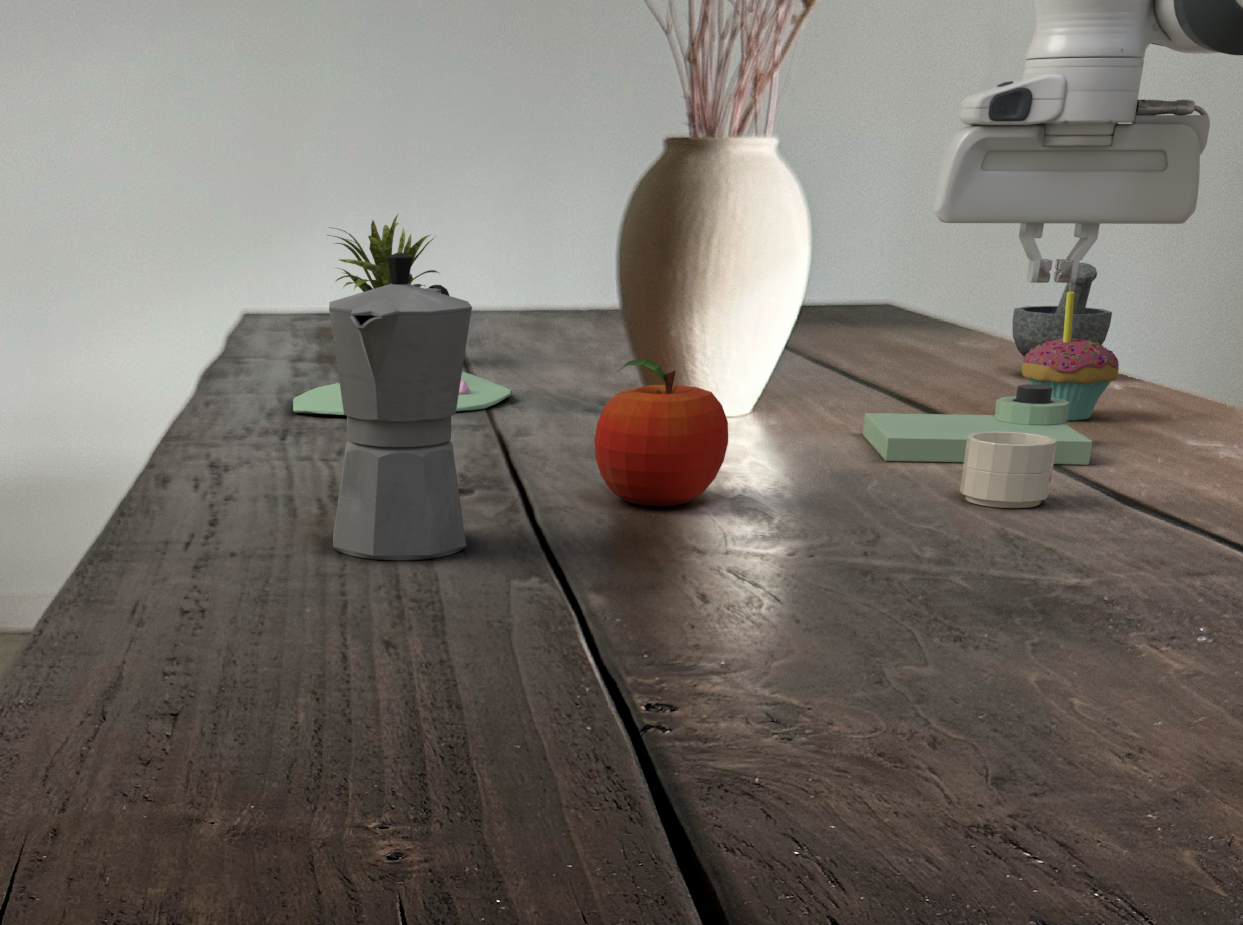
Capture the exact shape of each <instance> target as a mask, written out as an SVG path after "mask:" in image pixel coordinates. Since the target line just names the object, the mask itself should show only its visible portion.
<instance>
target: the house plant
mask: <svg viewBox="0 0 1243 925" xmlns="http://www.w3.org/2000/svg"><path fill="white" fill-rule="evenodd" d="M398 216H399V214H397V215H396V216H395V217H394V218H393V220H392V223H391V226H390V227H389V225H387V224H385V225H383V228H382V233H381V234H382V236H380V234H379V231H378V228H377V225H376V223H375V220H373V219H371V220H372V221H371V223H370V235H368V237H367V238H368V240H369V249H368V250H369V251H370V254H371V256H372V259H373V261H374V263H372V262H371V261H370V259H369V258H368V256H367V254H366V253H365V252H366V251H364V249H363V247H362V246H361V244H360V243H359V242H358V240H357V239H356V238H355V236H353V235H352V234H351V233H350V232H347V231H346V230H343V229H341V228H337V227H333V229H334V230H338V231H341V232H344V233H345V234H347V235H348V236H350V237H351V238H352V239H347V238H344V237H341V236H336V235H331V234H327V236H328V237H333V238H338V239H341V240H342V241H344V242H345V243H344V242H343V243H342V242H334V245H335V244H336V245H342V246H344V247H345V248H347V249H348V250H349V251H350V252H351V253H352V254H353V255H354V257H355V258H356V259H351V258H350V259H349V258H348V259H347V258H346V259H343V258H341V259H339V261H340V262H343V263H346V264H352V265H355V266H358V267H360V268H362V270H363V271H364V273H365V275H366V277H367V278H368V279H366V278H365V279H364V278H361V277H360V276H358V275H354V274H351V273H350V272H349V271H347V270H346V269H343V268H340V267H337V269H338V270H341V271H343V273H344V274H346V275H342V276H340V277H337V279H336V280H335V281H334V283H335V282H338V281H339V280H342V279H344V278H350V279H351V280H352V281H347V282H345V284H344V285H343V287H342V289H345V287H347V286H350V285H353V284H354V287H353V291H355V290H356V288H359V289H360V290H361V291H362V292H365V291H369V290H372V289H375V288H379V287H382V286H386V285H389V284H392V283H391V277H390V271H389V265H388V259H387V256H390V255H393V243H394V237H395V236H394V234H395V232H396V230H395V229H396V227H397V226H398V225H399V224H400V222H397V219H398ZM327 228H328V229H332V227H330V226H329V227H328V226H327ZM430 236H431V234H428V235H425V236H423V237H421V238H420V239H419V240H418V241H417V242H415V243H414V244H413V245H412V238H413V237H412V233H410V234H409V236H408V239H407V242H406V231H405V228H404V227H402V230H401V234H400V237H399V242H398V247H397V251H396V253H405V254H407V255H410V256H412V257H413V258H412V264H411V267H413V264H414V263H415V262H416V260H417V259H418V258H419V257H420V255H421V254H422V253H423V252H424V250H425V249H426V247H427V246H428V245H429V244H430V243H431V242H433V240H434V239H435V238H436V236H434V237H433V238H432V239H430V240H429V241H428V242H426V244H425V245H424V246H423V248H422V249H421V250H420V251H419V249H420V248H421V246H422V244H423V243H424V241H425V240H426V239H427V238H428V237H430ZM352 242H353V243H352ZM354 243H355V244H356V245H355V244H354ZM418 251H419V252H418ZM332 268H334V269H335V267H332ZM369 271H370V272H371V274H372V276H373V277H374V279H373V278H372V276H371V274H370V272H369ZM428 273H439V275H441V276H442V274H441V273H440V272H439V271H437V270H436V269H435V270H434V269H430V270H426V271H424V272H422V273H420V274H418V275H416V276H415V277H414V276H413V274H412V273H410V275H409V281H408V284H411V285H412V283H413V281H414V280H416V279H418V278H419V277H421V276H422V275H425V274H428ZM367 282H370V284H371V285H370V284H368V283H367ZM413 285H414V286H417V287H421V288H422V286H423V287H424V289H425V288H427V287H426V284H421V283H414V284H413Z"/></svg>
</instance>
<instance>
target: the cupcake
mask: <svg viewBox="0 0 1243 925" xmlns="http://www.w3.org/2000/svg"><path fill="white" fill-rule="evenodd" d="M1073 306H1074V292H1072V283H1070V287H1069V292H1067V297H1066V310H1065V323H1064V336H1063V339H1057V340H1054V341H1051V340H1048V341H1047V342H1046V343H1043V344H1040V345H1038V346H1036V347H1034V348H1032V349H1031V350H1030V352H1029V353H1027V354H1026V356H1025V357H1023V358H1022V363H1023V364H1022V367H1021V375H1022V374H1023V375H1022V376H1023V377H1025V379H1027V380H1028V384H1035V385H1046V386H1051V387H1052V395H1051V398H1056V399H1061V400H1065V401H1067V402H1069V403H1070V404H1069V410H1068V417H1067V421H1084V420H1089V419H1090V418H1091V416H1092V413H1093V411H1094V409H1095V407H1096V405H1097V403H1098V401H1099V399H1100V398H1101V395H1103V393H1104V392H1105V390H1106V389H1107V388H1108V386H1109V385H1110V384H1111V382H1114V381H1116V380H1117V379H1118V375H1119V371H1120V367H1119V366H1120V364H1119V359H1118V357H1117V356H1116V354H1115V353H1114V352H1113V350H1110V349H1108V348H1107V347H1106V346H1104V345H1103V344H1102V345H1100V344H1099V343H1098V342H1093V341H1091V340H1089V341H1088V339H1087V340H1084V339H1076V338H1073V339H1071V331H1072V318H1073Z"/></svg>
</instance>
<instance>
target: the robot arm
mask: <svg viewBox="0 0 1243 925" xmlns="http://www.w3.org/2000/svg"><path fill="white" fill-rule="evenodd" d="M1033 6H1034V13H1035V24H1034V25H1035V26H1034V32H1033V36H1032V39H1031V42H1030V44H1029V46H1028V48H1027V51H1026V53H1025V54H1026V55H1025V61H1024V66H1023V67H1024V68H1023V75H1021V78H1019V79H1016V80H1014V81H1013V80H1011V81H1004V82H1002V83H999V84H997V86H995V87H992V88H989V89H985V90H982V91H979V92H976V93H973V94H970V95H968V96H966V97H964V99H962V101H961V103H960V106H959V111H958V112H959V114H958V117H959V121H960V122H961V123H962V124H964V125H966V126H964V127H961V128H959V129H958V130H957V131H956V132H954V133H953V134H952V136H951V137H950V138H949V140H948V142H947V144H946V146H945V148H944V152H943V155H942V157H941V162H940V166H939V170H938V173H937V174H938V175H937V179H936V184H935V189H934V195H933V202H932V211H933V214H934V215H935V216H936V218H937V219H938V220H939V221H940V222H941V223H944V224H945V223H946V224H1020V226H1019V232H1018V239H1019V241H1020V243H1021V245H1022V248H1023V250H1024V253H1025V255H1026V257H1027V259H1028V266H1027V273H1026V274H1027V275H1026V282H1028V283H1030V284H1031V283H1032V284H1039V283H1040V284H1045V283H1046V284H1047V283H1049V282H1050V280H1051V273H1050V272H1051V271H1052V268H1053V260H1052V259H1048V258H1043V257H1042V254H1041V252H1040V250H1039V247H1038V244H1037V241H1036V239H1041V238H1043V233H1044V226H1045V224H1074V230H1073V236H1074V238H1078V241H1077V242H1076V244H1075V245H1074V246H1073V248H1072V249H1071V251H1070V252H1069V253H1068V254H1067V257H1066V258H1056V259H1055V264H1054V268H1055V271H1054V272H1053V282H1054V283H1056V284H1058V283H1060V284H1067V283H1075V282H1076V279H1077V274H1078V268H1079V263H1080V261H1082V260H1083V259H1084V257H1086V255H1087V253H1088V252H1089V251H1090V249H1091V248H1092V247H1093V245H1094V244H1095V243H1096V241H1097V240H1098V237H1099V231H1100V224H1103V225H1104V224H1105V225H1106V224H1108V225H1109V224H1111V225H1112V224H1113V225H1114V224H1115V225H1116V224H1118V225H1120V224H1121V225H1125V224H1127V225H1131V224H1132V225H1133V224H1135V225H1136V224H1137V225H1139V224H1141V225H1182V224H1184V223H1186V222H1187V221H1188V220H1189V219H1190V218H1191V217H1192V215H1193V214H1194V213H1195V211H1196V209H1197V207H1198V206H1197V204H1198V198H1199V189H1200V177H1201V176H1200V173H1201V155H1202V154H1203V152H1204V151H1205V149H1206V147H1207V143H1208V138H1209V133H1210V128H1211V121H1210V116H1209V114H1208V112H1207V111H1206V109H1204V108H1203V107H1201V106H1200V105H1197V104H1196V102H1195V101H1194V100H1192V99H1176V100H1162V99H1139V93H1140V88H1141V81H1142V76H1143V70H1144V63H1145V57H1146V51H1147V48H1148V47H1149V46H1150V45H1156V46H1160V47H1166V48H1167V49H1170V50H1173V51H1175V52H1179V53H1182V54H1183V53H1184V54H1218V53H1220V54H1224V55H1230V56H1243V0H1033ZM1194 112H1196V113H1198V114H1193V113H1194Z"/></svg>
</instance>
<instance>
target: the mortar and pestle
mask: <svg viewBox="0 0 1243 925" xmlns="http://www.w3.org/2000/svg"><path fill="white" fill-rule="evenodd" d="M1097 277H1098V271H1097V268H1096V267H1095V266H1093V265H1092V264H1090V263H1088V262H1087V263H1086V262H1079V268H1078V274H1077V279H1076V282H1075V283H1072V292H1074V306H1073V318H1072V331H1071V339H1073V338H1076V339H1084V340H1087V339H1088V341H1089V340H1091V341H1093V342H1098V343H1099V344H1100V345H1103V344H1104V343H1105V341H1106V339H1107V336H1108V333H1109V330H1110V327H1111V322H1112V317H1113V311H1110V310H1107V309H1104V308H1095V307H1087V304H1088V300H1089V295H1090V291H1091V288H1092V283H1093V282H1094V281H1095V280H1096V279H1097ZM1065 284H1066V285H1065V287H1064V290H1063V291H1062V292H1063V293H1062V294H1061V298H1060V300H1059V302H1058V305H1034V306H1033V305H1032V306H1029V305H1028V306H1021V307H1016V308H1013V316H1012V321H1011V322H1012V338H1013V341H1014V344H1015V346H1016V349H1017V351H1018V352H1019V353H1020V354H1021V356H1022V357H1023V358H1024V357H1025V356H1026V354H1027V353H1029V352H1030V350H1031V349H1032V348H1034V347H1036V346H1038V345H1040V344H1043V343H1046V342H1047V341H1048V340H1051V341H1054V340H1057V339H1063V336H1064V323H1065V310H1066V297H1067V292H1069V287H1070V283H1065ZM1021 375H1022V376H1023V374H1022V373H1021Z"/></svg>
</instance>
